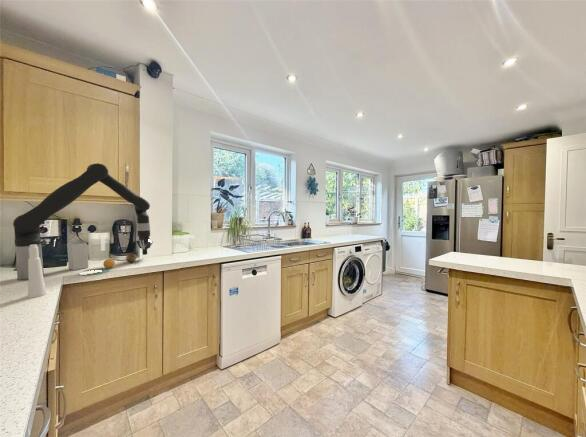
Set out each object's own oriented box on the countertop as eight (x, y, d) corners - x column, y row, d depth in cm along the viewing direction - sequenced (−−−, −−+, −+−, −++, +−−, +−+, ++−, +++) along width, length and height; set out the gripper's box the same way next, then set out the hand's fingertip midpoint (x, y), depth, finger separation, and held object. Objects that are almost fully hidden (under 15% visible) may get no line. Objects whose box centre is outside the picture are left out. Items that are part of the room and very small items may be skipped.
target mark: (78, 277, 132) (78, 276, 132) (78, 271, 143) (78, 270, 143) (111, 272, 141) (111, 271, 141) (109, 266, 152) (109, 266, 152)
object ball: (104, 269, 146) (103, 260, 145) (103, 267, 150) (102, 258, 149) (115, 268, 149) (115, 259, 149) (114, 266, 153) (113, 257, 153)
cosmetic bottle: (51, 292, 111) (47, 243, 109) (37, 297, 105) (33, 246, 103) (37, 292, 111) (32, 243, 109) (22, 297, 105) (18, 246, 103)
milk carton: (83, 266, 154) (81, 235, 152) (88, 267, 150) (86, 236, 148) (68, 268, 148) (66, 237, 146) (73, 270, 144) (71, 238, 142)
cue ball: (126, 263, 159) (126, 255, 158) (125, 262, 163) (125, 253, 162) (136, 262, 162) (136, 254, 162) (135, 260, 166) (135, 252, 166)
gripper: (131, 229, 169) (132, 255, 171) (146, 230, 165) (147, 256, 166) (141, 228, 176) (142, 252, 178) (155, 229, 172) (156, 254, 173)
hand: (145, 254), depth 172 cm, fingers closed
